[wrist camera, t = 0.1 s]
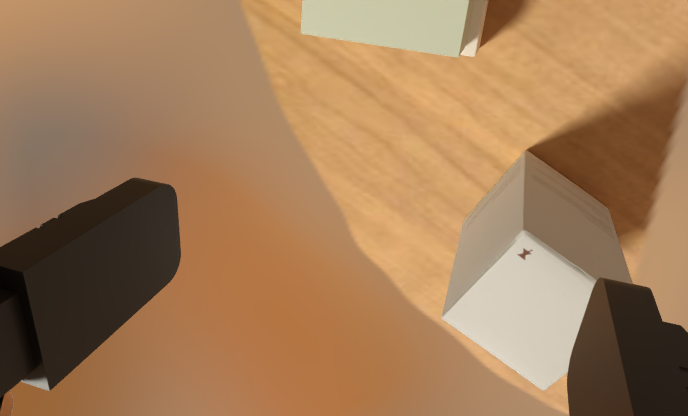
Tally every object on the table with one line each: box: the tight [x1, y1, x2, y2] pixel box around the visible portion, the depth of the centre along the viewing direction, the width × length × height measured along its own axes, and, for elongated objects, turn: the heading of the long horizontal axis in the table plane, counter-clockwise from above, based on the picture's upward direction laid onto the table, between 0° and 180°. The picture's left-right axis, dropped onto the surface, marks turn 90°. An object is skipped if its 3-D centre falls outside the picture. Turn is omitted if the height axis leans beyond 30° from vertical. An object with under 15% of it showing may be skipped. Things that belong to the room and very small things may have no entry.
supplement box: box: [442, 150, 633, 391], centre depth 34 cm, size 7×7×13 cm
